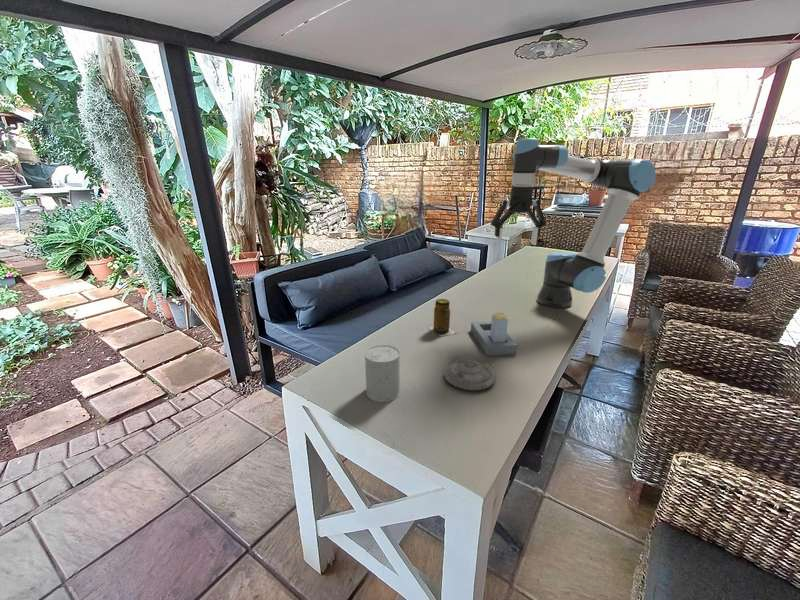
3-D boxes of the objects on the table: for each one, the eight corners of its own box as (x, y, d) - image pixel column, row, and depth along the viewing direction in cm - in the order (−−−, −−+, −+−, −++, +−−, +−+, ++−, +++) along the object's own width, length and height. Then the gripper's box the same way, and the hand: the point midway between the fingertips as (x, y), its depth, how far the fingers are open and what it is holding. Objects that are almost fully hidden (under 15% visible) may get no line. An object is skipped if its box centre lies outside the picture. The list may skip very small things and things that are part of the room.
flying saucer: (461, 399, 101) (462, 382, 99) (434, 372, 114) (435, 357, 112) (505, 386, 107) (507, 370, 105) (475, 362, 119) (476, 347, 117)
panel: (495, 329, 143) (496, 321, 141) (516, 354, 124) (517, 345, 123) (470, 330, 142) (471, 322, 141) (487, 355, 123) (488, 346, 122)
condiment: (444, 325, 147) (445, 296, 143) (456, 333, 140) (457, 303, 135) (428, 328, 144) (429, 299, 140) (439, 337, 137) (441, 307, 132)
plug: (500, 343, 130) (503, 312, 126) (504, 349, 126) (508, 316, 122) (489, 344, 130) (492, 312, 125) (493, 349, 126) (496, 317, 122)
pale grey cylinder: (366, 383, 108) (364, 345, 104) (398, 381, 109) (398, 344, 104) (366, 402, 99) (364, 363, 95) (401, 401, 100) (401, 361, 96)
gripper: (551, 184, 135) (543, 242, 142) (485, 185, 133) (480, 243, 140) (561, 186, 128) (552, 246, 135) (491, 186, 126) (486, 247, 133)
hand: (516, 245), depth 138 cm, fingers open, 13 cm apart
